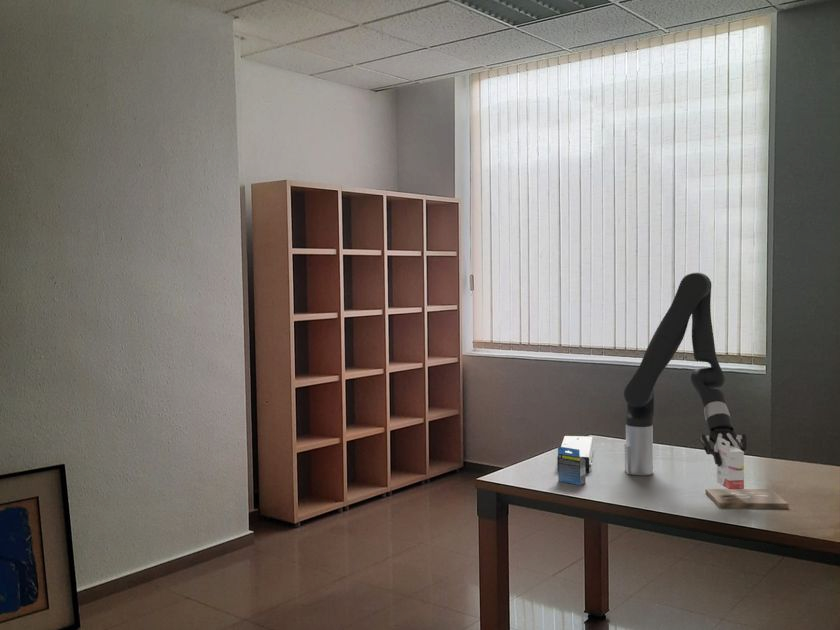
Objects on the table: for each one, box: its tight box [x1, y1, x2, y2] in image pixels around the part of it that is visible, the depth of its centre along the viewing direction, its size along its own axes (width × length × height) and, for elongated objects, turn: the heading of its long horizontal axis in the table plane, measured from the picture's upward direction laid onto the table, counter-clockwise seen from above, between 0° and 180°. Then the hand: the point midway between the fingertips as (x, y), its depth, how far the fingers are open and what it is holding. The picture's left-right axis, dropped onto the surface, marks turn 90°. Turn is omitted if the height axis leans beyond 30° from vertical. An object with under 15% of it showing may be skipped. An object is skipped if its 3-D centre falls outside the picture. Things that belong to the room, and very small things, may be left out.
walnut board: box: [705, 488, 789, 509], centre depth 238 cm, size 20×15×2 cm
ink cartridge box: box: [716, 437, 745, 489], centre depth 238 cm, size 9×5×15 cm, turn 5°
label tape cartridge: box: [557, 445, 587, 486], centre depth 262 cm, size 9×4×12 cm, turn 47°
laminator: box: [556, 435, 594, 473], centre depth 291 cm, size 34×12×6 cm, turn 165°
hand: (730, 464), depth 237 cm, fingers closed on ink cartridge box, 5 cm apart
